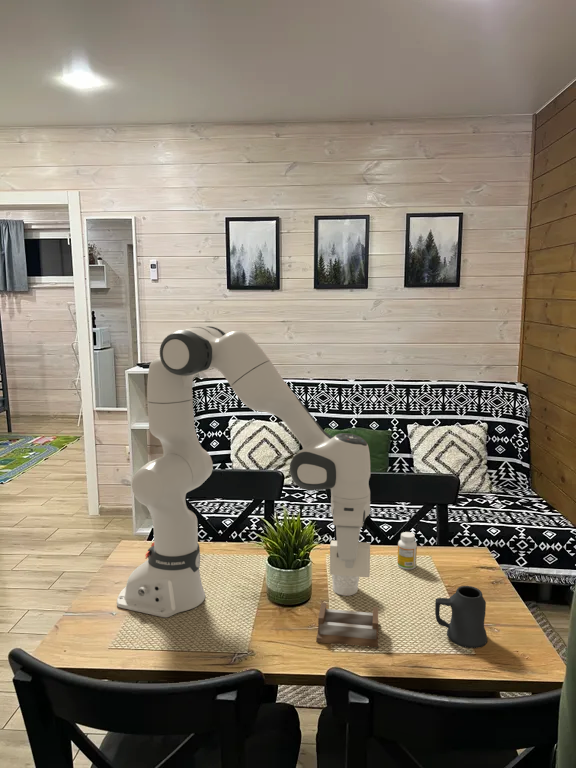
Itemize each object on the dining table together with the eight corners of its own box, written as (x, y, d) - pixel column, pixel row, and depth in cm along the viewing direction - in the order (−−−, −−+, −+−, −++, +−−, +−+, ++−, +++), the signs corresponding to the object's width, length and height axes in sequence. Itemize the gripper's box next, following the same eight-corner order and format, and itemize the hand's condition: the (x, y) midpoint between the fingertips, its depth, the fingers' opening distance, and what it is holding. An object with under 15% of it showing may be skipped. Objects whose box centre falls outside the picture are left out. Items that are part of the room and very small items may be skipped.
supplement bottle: (404, 559, 174) (405, 529, 172) (419, 566, 170) (421, 534, 168) (393, 565, 170) (394, 534, 169) (408, 571, 166) (410, 540, 165)
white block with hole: (369, 571, 134) (370, 542, 133) (369, 578, 131) (369, 549, 130) (331, 568, 136) (331, 540, 135) (329, 575, 132) (329, 546, 131)
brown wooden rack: (316, 641, 132) (316, 621, 132) (320, 618, 142) (321, 599, 141) (378, 647, 130) (378, 627, 130) (378, 623, 140) (379, 604, 139)
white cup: (358, 598, 151) (359, 562, 150) (328, 595, 153) (329, 559, 152) (360, 584, 159) (361, 549, 158) (332, 581, 161) (333, 547, 159)
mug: (484, 627, 138) (486, 583, 137) (490, 650, 130) (493, 603, 128) (432, 622, 141) (434, 579, 139) (435, 644, 132) (437, 598, 130)
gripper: (340, 489, 142) (339, 542, 144) (332, 520, 122) (332, 582, 124) (366, 490, 141) (365, 544, 143) (362, 522, 121) (361, 584, 123)
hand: (349, 562), depth 133 cm, fingers closed on white block with hole, 3 cm apart
